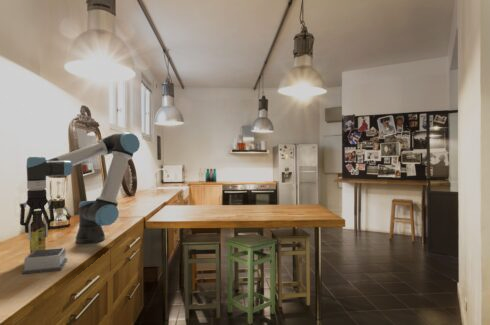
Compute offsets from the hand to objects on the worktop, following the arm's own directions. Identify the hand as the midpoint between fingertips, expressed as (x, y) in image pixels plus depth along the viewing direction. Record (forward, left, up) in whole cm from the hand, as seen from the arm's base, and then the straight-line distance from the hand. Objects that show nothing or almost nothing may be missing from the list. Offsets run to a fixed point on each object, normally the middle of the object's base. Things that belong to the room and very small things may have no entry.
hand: (37, 238), depth 150 cm
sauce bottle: (0, 0, -7) cm, 7 cm away
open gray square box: (0, +17, -10) cm, 20 cm away
